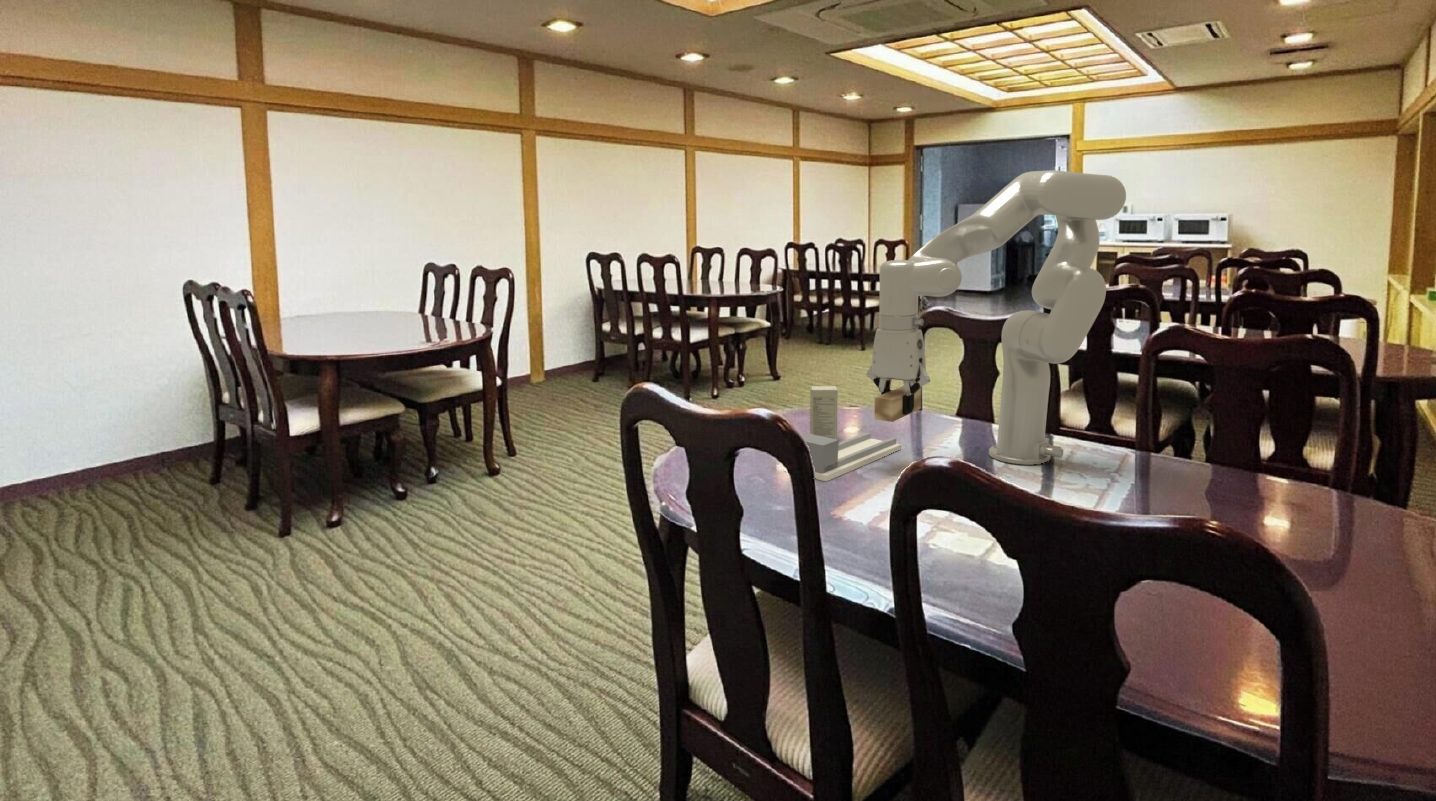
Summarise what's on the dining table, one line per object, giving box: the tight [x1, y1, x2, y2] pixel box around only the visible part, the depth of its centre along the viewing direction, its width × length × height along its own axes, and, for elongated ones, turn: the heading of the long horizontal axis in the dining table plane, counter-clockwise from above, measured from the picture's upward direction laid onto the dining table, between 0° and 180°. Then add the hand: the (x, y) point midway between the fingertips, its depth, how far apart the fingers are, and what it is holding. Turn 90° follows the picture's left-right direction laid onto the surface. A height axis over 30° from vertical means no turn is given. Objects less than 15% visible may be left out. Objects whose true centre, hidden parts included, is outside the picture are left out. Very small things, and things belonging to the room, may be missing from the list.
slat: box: [874, 385, 922, 423], centre depth 175 cm, size 4×12×4 cm, turn 140°
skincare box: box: [809, 385, 839, 440], centre depth 197 cm, size 6×4×12 cm
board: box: [802, 432, 902, 482], centre depth 181 cm, size 10×30×7 cm, turn 140°
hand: (897, 410), depth 175 cm, fingers closed on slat, 4 cm apart
